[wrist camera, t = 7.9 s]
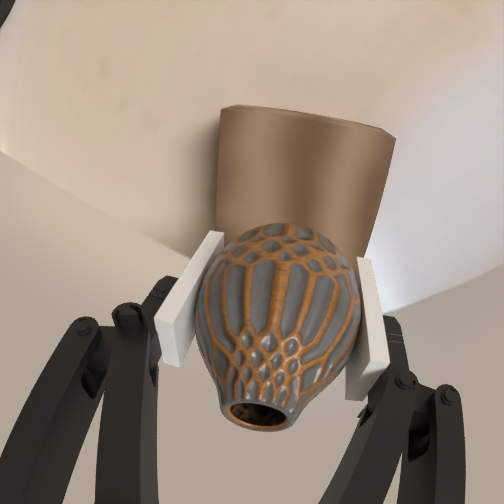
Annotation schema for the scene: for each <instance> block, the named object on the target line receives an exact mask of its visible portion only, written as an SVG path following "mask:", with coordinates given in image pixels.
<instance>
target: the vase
mask: <svg viewBox="0 0 504 504" xmlns="http://www.w3.org/2000/svg"><path fill="white" fill-rule="evenodd" d="M360 319H361V305H360V296H359V290H358V286H357V282H356V279H355V276H354V273H353V271H352V269H351V267H350V265H349V263H348V261H347V260H346V258H345V257H344V255H343V254H342V253H341V251H340V250H339V249H338V248H337V247H336V246H335V245H334V244H333V243H332V242H331V241H330V240H329V239H327V238H326V237H325V236H323V235H322V234H320V233H318V232H317V231H315V230H313V229H310V228H308V227H305V226H302V225H298V224H292V223H272V224H267V225H263V226H259V227H256V228H253V229H251V230H249V231H247V232H245V233H243V234H242V235H240V236H238V237H237V238H236V239H234V240H233V241H232V242H231V243H229V244H228V245H227V246H226V247H225V248H224V249H223V250H222V251H221V252H220V253H219V255H218V256H217V257H216V259H215V260H214V262H213V263H212V265H211V266H210V268H209V270H208V271H207V273H206V275H205V277H204V280H203V282H202V284H201V287H200V290H199V294H198V298H197V303H196V312H195V333H196V339H197V344H198V347H199V351H200V353H201V356H202V358H203V360H204V362H205V365H206V367H207V369H208V371H209V373H210V375H211V377H212V379H213V381H214V383H215V385H216V388H217V392H218V397H219V403H220V409H221V412H222V414H223V415H224V416H225V417H226V418H227V419H228V420H229V421H231V422H233V423H234V424H236V425H238V426H241V427H243V428H247V429H250V430H255V431H263V432H273V431H281V430H284V429H287V428H289V427H290V426H292V425H293V424H294V423H295V421H296V420H297V418H298V417H299V415H300V414H301V412H302V411H303V409H304V408H305V407H306V405H307V404H308V403H309V402H310V401H311V400H312V399H313V398H315V397H316V396H317V395H318V394H319V393H320V392H322V391H323V390H324V389H325V388H326V387H327V386H328V385H329V384H330V383H331V382H332V381H333V380H334V379H335V378H336V377H337V376H338V375H339V374H340V372H341V371H342V370H343V368H344V367H345V365H346V364H347V362H348V360H349V358H350V356H351V354H352V351H353V349H354V346H355V343H356V340H357V336H358V332H359V327H360Z"/></svg>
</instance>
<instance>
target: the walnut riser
mask: <svg viewBox="0 0 504 504" xmlns="http://www.w3.org/2000/svg"><path fill="white" fill-rule="evenodd" d="M395 141H396V138H395V137H393V136H392V135H390V134H389V133H387V132H386V131H384V130H383V129H381V128H377V127H373V126H369V125H364V124H360V123H356V122H351V121H347V120H342V119H337V118H332V117H326V116H321V115H315V114H309V113H303V112H297V111H290V110H282V109H275V108H266V107H257V106H246V105H234V106H231V107H227V108H223V109H221V115H220V131H219V149H218V169H217V193H216V223H215V231H217V232H223V233H224V248H225V247H226V246H227V245H228V244H229V243H231V242H232V241H233V240H234V239H236V238H237V237H238V236H240V235H242V234H243V233H245V232H247V231H249V230H251V229H253V228H256V227H259V226H263V225H267V224H272V223H292V224H298V225H302V226H305V227H308V228H310V229H313V230H315V231H317V232H318V233H320V234H322V235H323V236H325V237H326V238H327V239H329V240H330V241H331V242H332V243H333V244H334V245H335V246H336V247H337V248H338V249H339V250H340V251H341V253H342V254H343V255H344V257H345V258H346V260H347V261H348V263H349V265H350V267H351V269H353V266H354V263H355V260H356V257H361V258H364V255H365V252H366V249H367V246H368V243H369V240H370V236H371V233H372V230H373V227H374V223H375V220H376V216H377V213H378V209H379V206H380V202H381V199H382V195H383V191H384V187H385V183H386V180H387V176H388V171H389V167H390V163H391V159H392V154H393V150H394V145H395Z"/></svg>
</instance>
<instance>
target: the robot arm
mask: <svg viewBox="0 0 504 504" xmlns="http://www.w3.org/2000/svg"><path fill="white" fill-rule="evenodd" d="M14 1H15V0H0V26H1V24H2V23H3V21H4V20H5V18H6V16H7V15H8V13H9V11H10V9H11V7H12V5H13V3H14ZM223 249H224V233H223V232H217V231H211V230H210V231H209V233H208V234H207V236H206V237H205V239H204V240H203V242H202V243H201V245H200V246H199V248H198V249H197V251H196V252H195V254H194V255H193V257H192V258H191V260H190V262H189V263H188V265H187V266H186V268H185V269H184V271H183V272H182V274H181V276H180V277H179V278H175V277H171V276H165V277H164V278H162V279H160V280H159V281H158V282H157V283H156V285H155V286H154V287H153V290H151V292H150V293H149V295H148V296H147V297H146V299H145V301H144V302H143V303H142V305H139V304H137V303H132V302H129V303H123V304H121V305H119V306H117V307H116V308H115V309H114V310H113V312H112V314H111V315H112V318H113V321H114V324H115V326H113V327H112V326H99V325H98V322H97V321H96V320H95V319H94V318H92V317H86V316H85V317H80V318H78V319H76V320H75V321H74V322H73V323H72V324H71V325H70V327H69V328H68V330H67V331H66V333H65V334H64V336H63V338H62V339H61V341H60V342H59V344H58V346H57V347H56V349H55V351H54V352H53V354H52V356H51V357H50V359H49V361H48V362H47V364H46V366H45V368H44V370H43V371H42V373H41V375H40V376H39V378H38V380H37V382H36V384H35V385H34V387H33V389H32V391H31V393H30V395H29V397H28V399H27V401H26V403H25V404H24V406H23V409H22V410H21V413H20V415H19V417H18V419H17V421H16V423H15V425H14V427H13V430H12V431H11V434H10V436H9V438H8V440H7V443H6V445H5V447H4V450H3V452H2V454H1V457H0V504H62V503H63V499H64V496H65V493H66V490H67V487H68V484H69V481H70V478H71V475H72V472H73V469H74V467H75V464H76V461H77V458H78V456H79V453H80V450H81V447H82V445H83V442H84V440H85V437H86V434H87V432H88V429H89V427H90V424H91V422H92V419H93V417H94V414H95V412H96V409H97V407H98V405H99V402H100V400H101V397H102V395H103V393H104V398H103V405H102V413H101V421H100V430H99V441H98V450H97V451H98V452H97V464H96V485H95V503H94V504H159V501H158V483H157V482H158V481H157V394H158V372H159V368H158V361H159V359H160V357H161V355H162V359H163V363H167V364H170V365H173V366H176V367H181V364H182V362H183V360H184V358H185V355H186V353H187V351H188V349H189V347H190V344H191V342H192V340H193V338H194V336H195V334H196V333H195V312H196V303H197V298H198V294H199V290H200V287H201V284H202V282H203V280H204V277H205V275H206V273H207V271H208V270H209V268H210V266H211V265H212V263H213V262H214V260H215V259H216V257H217V256H218V255H219V253H220V252H221V251H222V250H223ZM352 271H353V273H354V276H355V279H356V282H357V286H358V290H359V296H360V305H361V319H360V327H359V332H358V336H357V340H356V343H355V346H354V349H353V351H352V354H351V356H350V358H349V360H348V362H347V364H346V394H345V395H346V396H345V399H346V400H354V401H363V400H364V399H365V397H366V396H367V395H368V404H367V405H366V406H365V408H364V409H363V410H362V411H361V412H360V414H359V415H358V418H360V417H361V418H360V420H359V422H358V425H357V427H356V429H355V432H354V434H353V437H352V439H351V441H350V443H349V445H348V447H347V450H346V452H345V454H344V456H343V458H342V460H341V462H340V464H339V466H338V468H337V470H336V472H335V474H334V476H333V478H332V480H331V482H330V484H329V486H328V488H327V490H326V491H325V493H324V495H323V497H322V498H321V500H320V502H319V504H383V502H384V500H385V497H386V495H387V492H388V489H389V487H390V485H391V482H392V479H393V476H394V474H395V471H396V468H397V465H398V462H399V459H400V456H401V453H402V463H401V474H400V484H399V491H398V498H397V504H465V481H466V461H465V437H464V424H463V413H462V405H461V398H460V395H459V393H458V391H457V390H456V389H455V388H454V387H453V386H451V385H447V384H444V385H441V386H439V387H438V388H437V389H436V390H435V389H432V388H429V387H426V386H424V385H421V384H420V383H419V382H418V380H417V377H416V376H415V375H414V374H413V373H412V372H411V371H409V367H408V361H407V355H406V350H405V345H404V340H403V336H402V331H401V327H400V324H399V323H398V322H397V320H396V319H395V317H390V316H384V315H382V311H381V305H380V300H379V295H378V291H377V286H376V281H375V277H374V272H373V268H372V264H371V260H370V259H367V258H361V257H356V260H355V263H354V266H353V269H352ZM104 391H105V392H104Z"/></svg>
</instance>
